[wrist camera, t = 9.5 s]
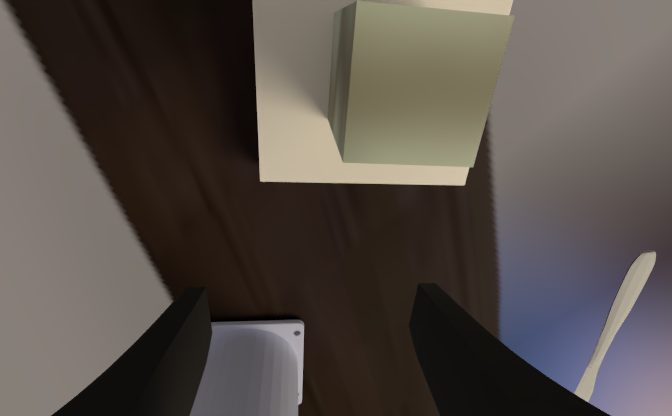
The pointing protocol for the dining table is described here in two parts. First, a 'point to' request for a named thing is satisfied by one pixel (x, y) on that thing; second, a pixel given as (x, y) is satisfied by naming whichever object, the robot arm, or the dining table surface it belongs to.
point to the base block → (321, 95)
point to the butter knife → (617, 317)
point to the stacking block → (413, 82)
